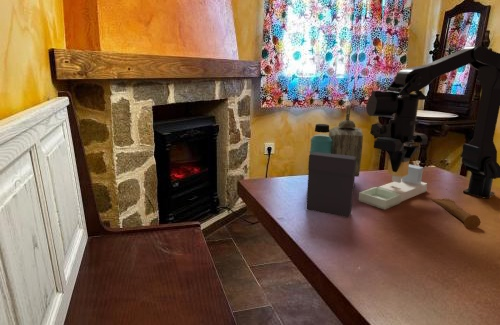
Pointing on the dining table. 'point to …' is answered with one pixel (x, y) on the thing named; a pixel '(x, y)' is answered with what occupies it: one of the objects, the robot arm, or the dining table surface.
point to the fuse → (413, 175)
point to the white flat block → (405, 189)
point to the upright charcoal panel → (331, 183)
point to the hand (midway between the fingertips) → (397, 170)
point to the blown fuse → (399, 170)
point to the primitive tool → (459, 212)
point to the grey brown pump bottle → (347, 140)
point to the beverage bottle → (321, 140)
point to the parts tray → (379, 198)
